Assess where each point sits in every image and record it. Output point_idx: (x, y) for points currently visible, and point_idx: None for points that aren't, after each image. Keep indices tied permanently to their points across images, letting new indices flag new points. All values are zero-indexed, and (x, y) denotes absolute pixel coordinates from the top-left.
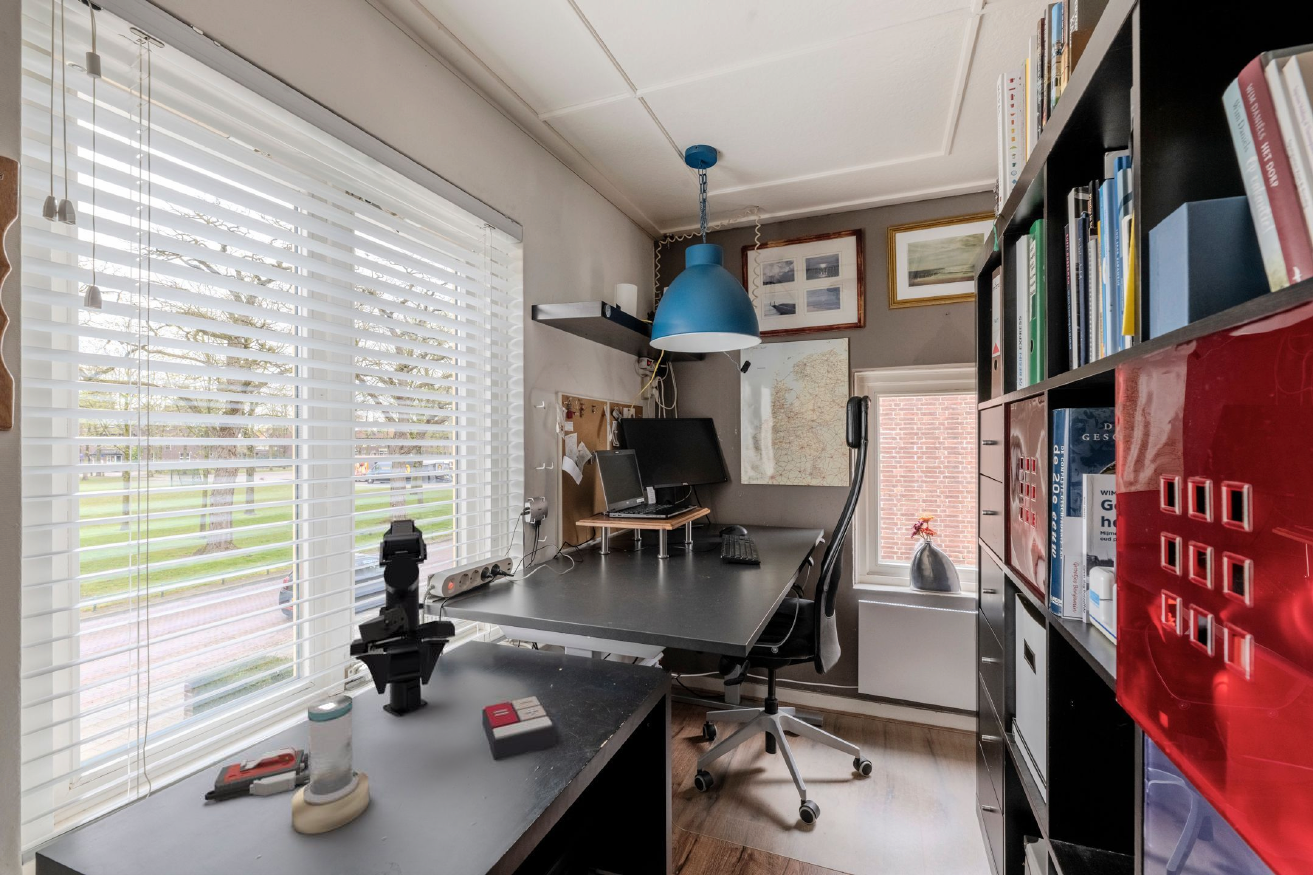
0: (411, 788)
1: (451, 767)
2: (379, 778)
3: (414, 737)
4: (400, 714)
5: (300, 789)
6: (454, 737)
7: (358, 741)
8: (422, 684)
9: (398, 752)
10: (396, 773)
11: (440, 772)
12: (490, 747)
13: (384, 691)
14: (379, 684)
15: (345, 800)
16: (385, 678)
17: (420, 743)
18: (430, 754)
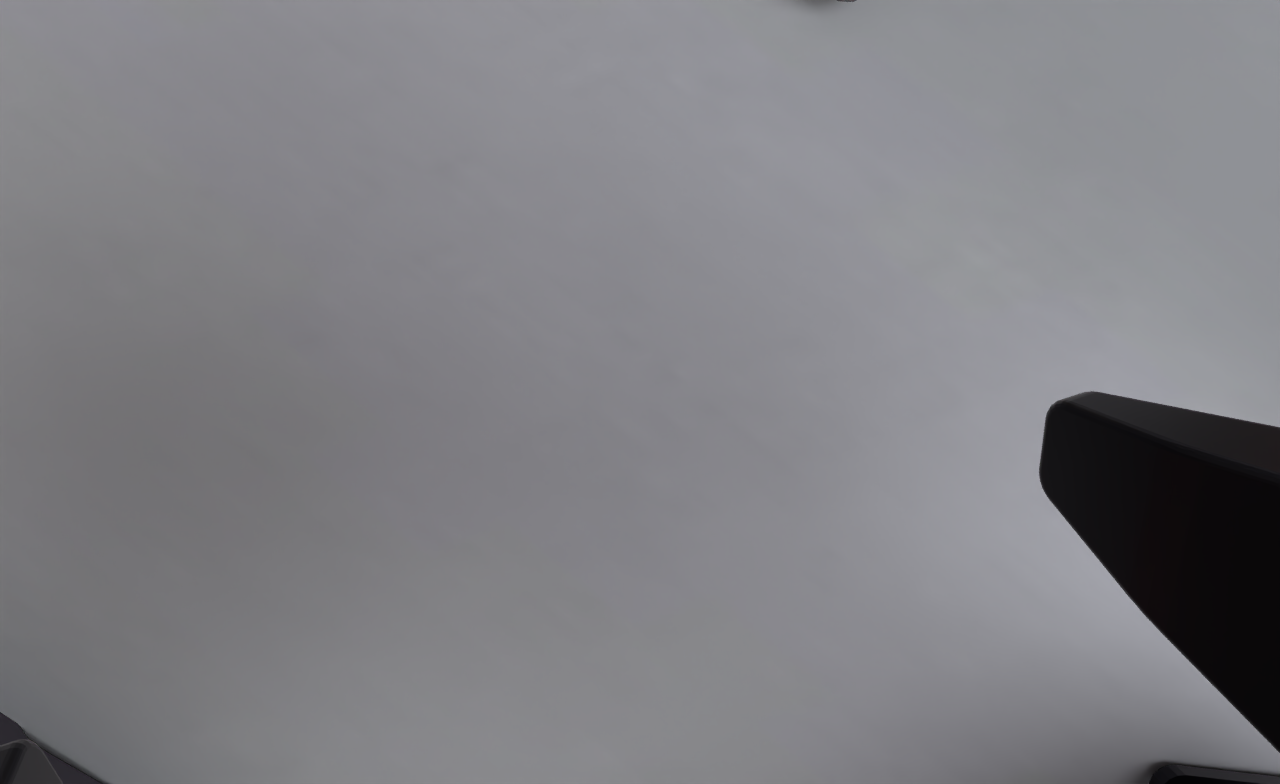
0: (119, 46)
1: (80, 402)
2: (501, 37)
3: (760, 593)
4: (1159, 779)
5: None
6: (442, 726)
7: (1165, 357)
8: (11, 744)
9: (691, 379)
10: (431, 150)
11: (101, 313)
12: (1, 728)
13: (1056, 501)
14: (1194, 471)
15: None
16: (1259, 677)
17: (633, 550)
18: (410, 467)
